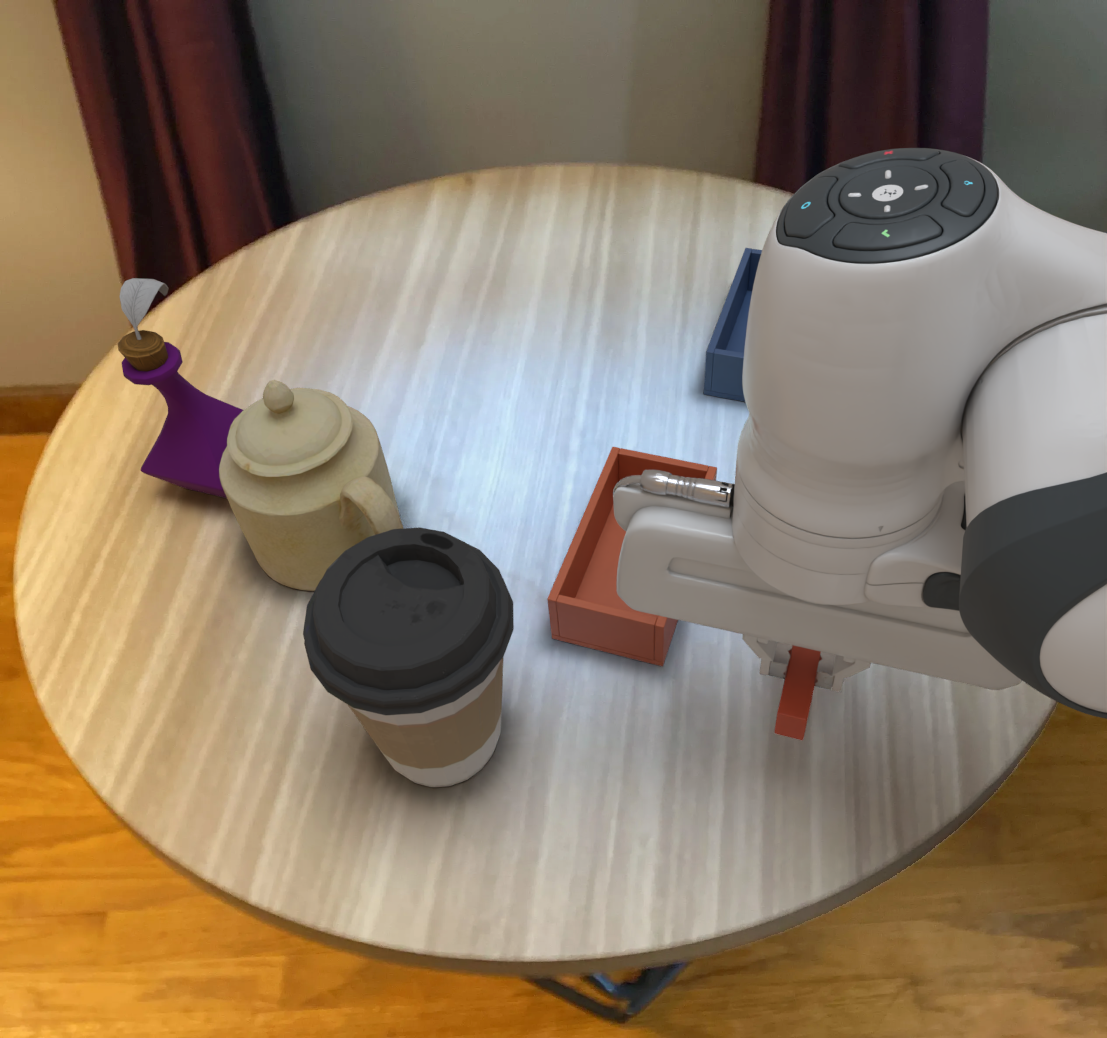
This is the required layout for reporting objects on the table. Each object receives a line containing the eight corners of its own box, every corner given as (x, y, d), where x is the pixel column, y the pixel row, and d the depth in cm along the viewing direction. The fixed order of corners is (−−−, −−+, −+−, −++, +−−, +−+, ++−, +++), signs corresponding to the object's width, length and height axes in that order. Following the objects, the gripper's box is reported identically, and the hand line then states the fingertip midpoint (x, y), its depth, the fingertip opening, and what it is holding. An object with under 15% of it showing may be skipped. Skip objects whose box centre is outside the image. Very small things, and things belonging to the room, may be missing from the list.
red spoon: (827, 747, 56) (832, 726, 54) (750, 728, 57) (752, 707, 55) (856, 596, 62) (861, 574, 60) (786, 582, 63) (789, 559, 61)
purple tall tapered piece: (238, 519, 78) (152, 332, 64) (154, 499, 80) (54, 314, 66) (285, 451, 83) (214, 262, 69) (205, 433, 85) (121, 247, 71)
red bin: (714, 509, 76) (717, 466, 72) (662, 667, 67) (664, 627, 64) (613, 488, 78) (612, 445, 74) (551, 638, 69) (546, 598, 66)
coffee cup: (562, 693, 66) (546, 546, 55) (481, 850, 60) (443, 720, 49) (410, 637, 70) (365, 488, 59) (317, 779, 63) (247, 643, 52)
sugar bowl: (471, 504, 78) (442, 349, 66) (413, 620, 71) (369, 471, 60) (296, 467, 81) (240, 314, 70) (225, 574, 75) (150, 425, 63)
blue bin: (828, 303, 90) (836, 260, 87) (798, 411, 82) (805, 368, 78) (741, 290, 92) (745, 247, 89) (703, 394, 84) (705, 351, 80)
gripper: (591, 513, 47) (605, 676, 58) (1071, 608, 42) (991, 770, 52) (629, 421, 51) (636, 589, 62) (1074, 497, 46) (999, 668, 56)
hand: (802, 673), depth 57 cm, fingers closed on red spoon, 1 cm apart
